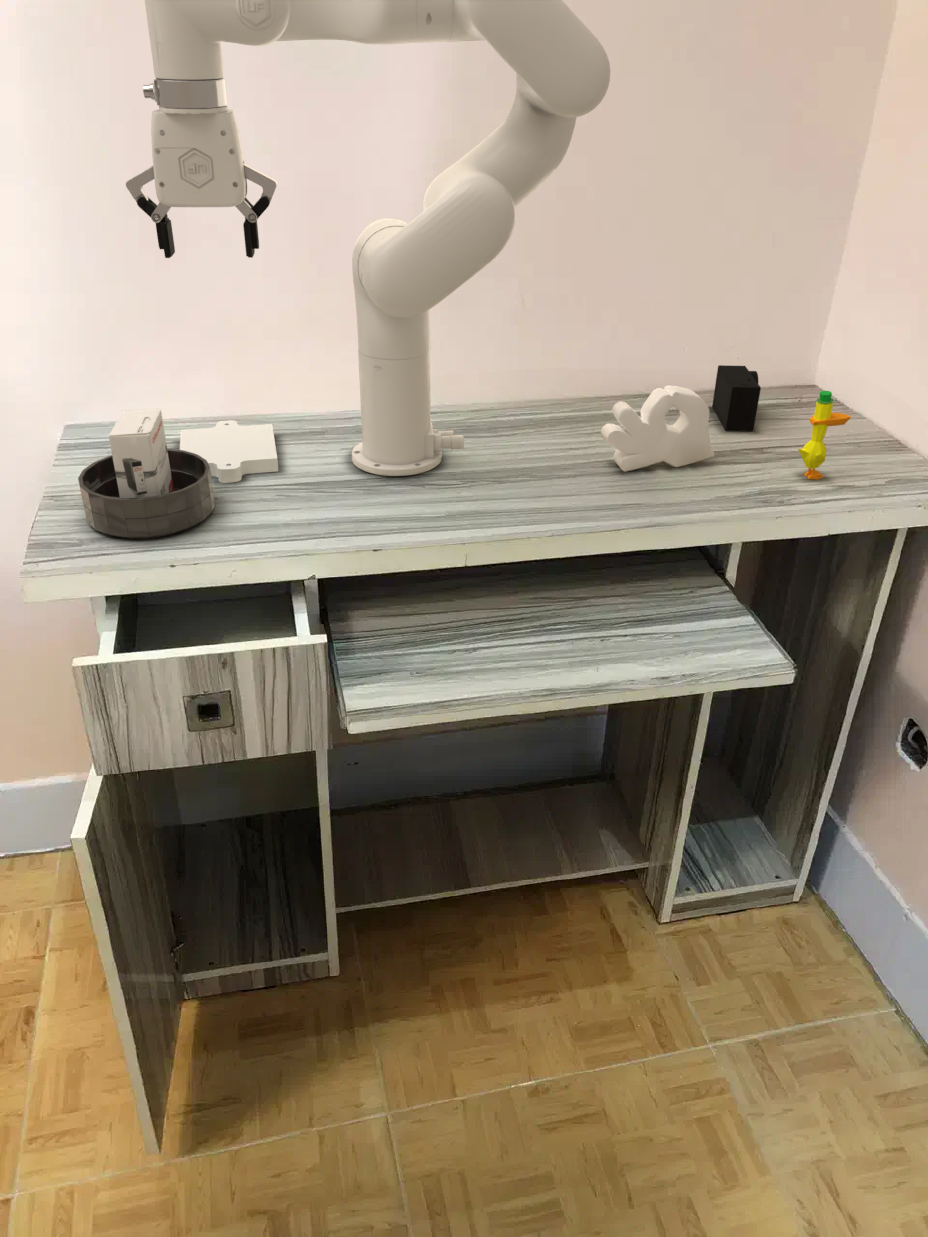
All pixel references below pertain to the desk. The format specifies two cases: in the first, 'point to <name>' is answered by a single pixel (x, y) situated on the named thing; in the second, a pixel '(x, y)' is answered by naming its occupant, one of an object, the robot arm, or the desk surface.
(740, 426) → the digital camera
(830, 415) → the toy figure
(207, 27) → the robot arm
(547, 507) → the desk surface
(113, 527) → the bowl
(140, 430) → the ink box
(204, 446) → the mounting plate
